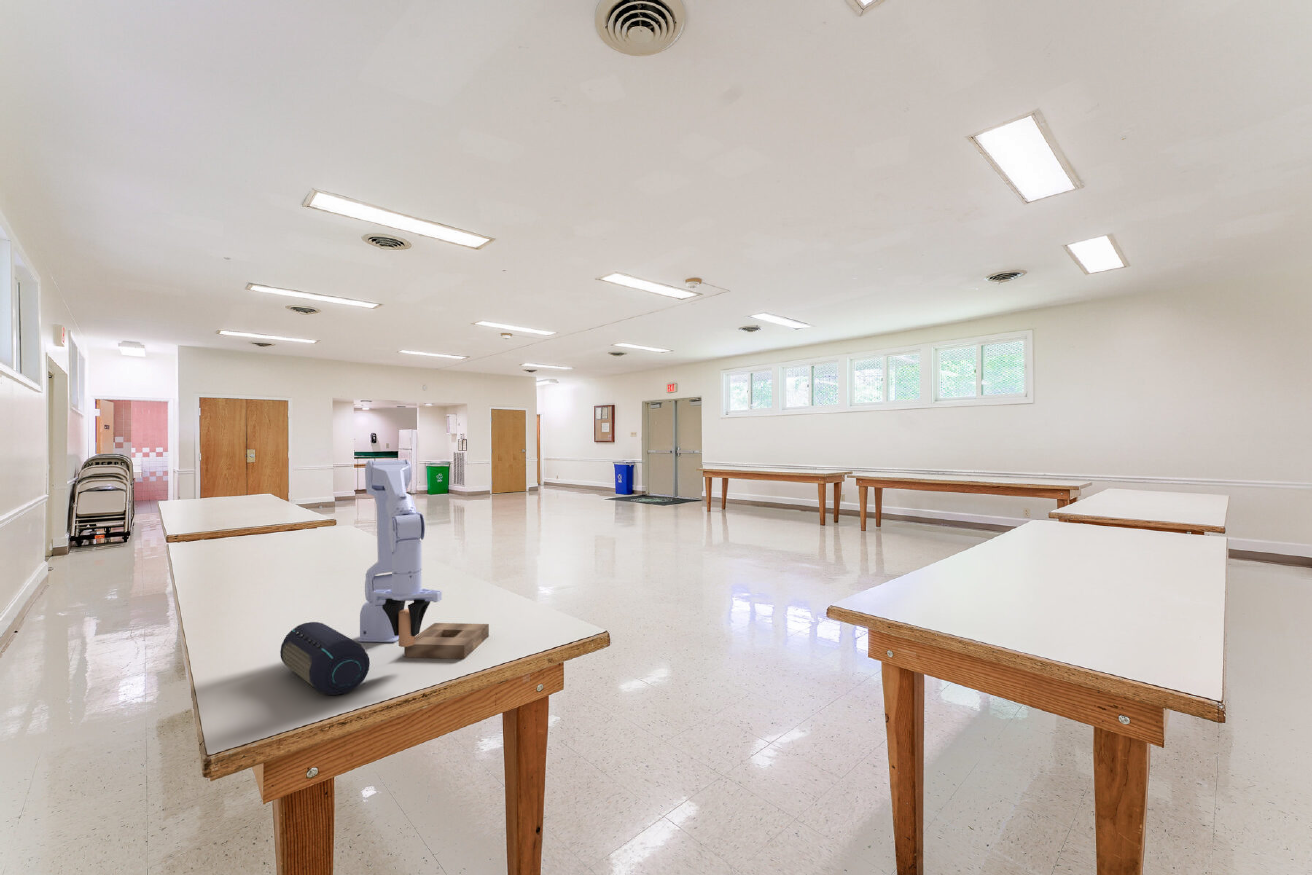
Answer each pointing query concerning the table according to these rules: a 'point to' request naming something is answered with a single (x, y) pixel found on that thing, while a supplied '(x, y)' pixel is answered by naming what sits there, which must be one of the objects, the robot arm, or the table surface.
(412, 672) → the table surface
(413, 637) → the peg
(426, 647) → the socket block
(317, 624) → the portable speaker
